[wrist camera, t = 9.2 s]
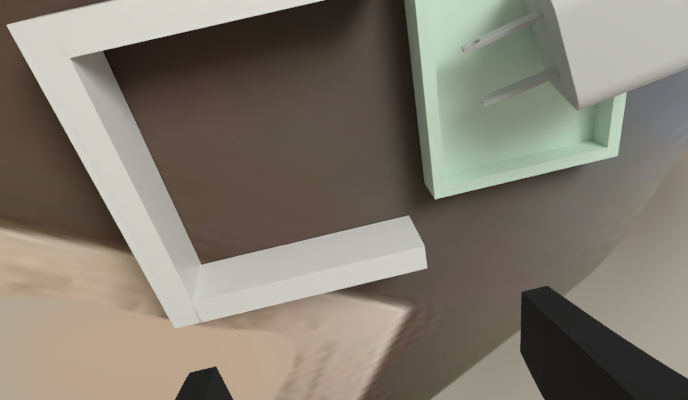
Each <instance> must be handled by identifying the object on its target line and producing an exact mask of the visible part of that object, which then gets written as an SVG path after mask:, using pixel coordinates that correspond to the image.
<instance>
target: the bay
mask: <svg viewBox="0 0 688 400" xmlns="http://www.w3.org/2000/svg"><path fill="white" fill-rule="evenodd" d="M319 1H323V0H109V1H105V2H100V3H96V4H91V5H87V6H83V7H78V8H74V9H69V10H65V11H60V12H56V13H51V14H47V15H43V16H39V17H35V18H31V19H27V20H24V21H20V22H16V23H12V24H8V25H7V27H8V29H9V31H10V32H11V34H12V36H13V38H14V40H15V41H16V43H17V45H18V47H19V49H20V50H21V52H22V54H23V56H24V58H25V59H26V61H27V63H28V65H29V67H30V68H31V70H32V72H33V74H34V76H35V77H36V79H37V81H38V83H39V85H40V87H41V88H42V90H43V92H44V94H45V96H46V97H47V99H48V101H49V103H50V105H51V106H52V108H53V110H54V112H55V114H56V115H57V117H58V119H59V121H60V123H61V124H62V126H63V128H64V130H65V132H66V133H67V135H68V137H69V139H70V141H71V142H72V144H73V146H74V148H75V150H76V151H77V153H78V155H79V157H80V159H81V160H82V162H83V164H84V166H85V168H86V169H87V171H88V173H89V175H90V177H91V179H92V180H93V182H94V184H95V186H96V188H97V189H98V191H99V193H100V195H101V197H102V198H103V200H104V202H105V204H106V206H107V207H108V209H109V211H110V213H111V215H112V216H113V218H114V220H115V222H116V224H117V225H118V227H119V229H120V231H121V233H122V234H123V236H124V238H125V240H126V242H127V243H128V245H129V247H130V249H131V251H132V252H133V254H134V256H135V258H136V260H137V261H138V263H139V265H140V267H141V269H142V271H143V272H144V274H145V276H146V278H147V280H148V281H149V283H150V285H151V287H152V289H153V290H154V292H155V294H156V296H157V298H158V299H159V301H160V303H161V305H162V307H163V308H164V310H165V312H166V314H167V316H168V317H169V319H170V321H171V323H172V325H173V326H174V328H175V329H177V328H181V327H185V326H190V325H194V324H198V323H202V322H206V321H210V320H214V319H219V318H223V317H227V316H231V315H235V314H239V313H244V312H248V311H252V310H256V309H260V308H264V307H268V306H273V305H277V304H281V303H285V302H289V301H293V300H297V299H302V298H306V297H310V296H314V295H318V294H322V293H326V292H331V291H335V290H339V289H343V288H347V287H351V286H356V285H360V284H364V283H368V282H372V281H376V280H380V279H385V278H389V277H393V276H397V275H401V274H405V273H409V272H414V271H418V270H422V269H426V268H427V262H426V254H425V246H424V244H423V242H422V240H421V238H420V236H419V234H418V232H417V230H416V228H415V226H414V224H413V222H412V220H411V219H410V217H409V215H408V216H404V217H400V218H396V219H392V220H387V221H383V222H379V223H375V224H371V225H366V226H362V227H358V228H354V229H350V230H345V231H341V232H337V233H333V234H329V235H324V236H320V237H316V238H312V239H308V240H303V241H299V242H295V243H291V244H287V245H282V246H278V247H274V248H270V249H266V250H261V251H257V252H253V253H249V254H245V255H240V256H236V257H232V258H228V259H224V260H219V261H215V262H211V263H207V264H203V265H201V263H200V261H199V259H198V256H197V254H196V252H195V250H194V248H193V246H192V243H191V241H190V239H189V237H188V235H187V233H186V230H185V228H184V226H183V224H182V222H181V220H180V217H179V215H178V213H177V211H176V209H175V207H174V204H173V202H172V200H171V198H170V196H169V194H168V191H167V189H166V187H165V185H164V183H163V181H162V178H161V176H160V174H159V172H158V170H157V168H156V165H155V163H154V161H153V159H152V157H151V155H150V152H149V150H148V148H147V146H146V144H145V141H144V139H143V137H142V135H141V133H140V131H139V128H138V126H137V124H136V122H135V120H134V118H133V115H132V113H131V111H130V109H129V107H128V105H127V102H126V100H125V98H124V96H123V94H122V92H121V89H120V87H119V85H118V83H117V81H116V79H115V76H114V74H113V72H112V70H111V68H110V66H109V63H108V61H107V59H106V57H105V55H104V53H103V50H107V49H112V48H116V47H121V46H125V45H129V44H134V43H138V42H143V41H147V40H151V39H156V38H160V37H165V36H169V35H173V34H178V33H182V32H187V31H191V30H195V29H200V28H204V27H209V26H213V25H217V24H222V23H226V22H231V21H235V20H239V19H244V18H248V17H253V16H257V15H261V14H266V13H270V12H275V11H279V10H283V9H288V8H292V7H297V6H301V5H305V4H310V3H314V2H319Z"/></svg>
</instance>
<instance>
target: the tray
mask: <svg viewBox="0 0 688 400" xmlns="http://www.w3.org/2000/svg"><path fill="white" fill-rule="evenodd" d="M404 5H405V14H406V23H407V32H408V41H409V50H410V58H411V67H412V76H413V85H414V94H415V103H416V112H417V121H418V130H419V139H420V148H421V157H422V166H423V175H424V183H425V185H426V186H427V188H428V189H429V191H430V193H431V194H432V196H433V197H434V199H439V198H443V197H447V196H451V195H455V194H460V193H464V192H468V191H472V190H476V189H481V188H485V187H489V186H493V185H497V184H502V183H506V182H510V181H514V180H518V179H523V178H527V177H531V176H535V175H539V174H544V173H548V172H552V171H556V170H560V169H565V168H569V167H573V166H577V165H581V164H586V163H590V162H594V161H598V160H602V159H607V158H611V157H615V156H618V150H619V143H620V136H621V129H622V122H623V115H624V107H625V100H626V93H627V92H626V93H623V94H620V95H618V96H615V97H613V98H610V99H607V100H605V101H602V102H600V103H597V104H594V105H592V106H589V107H587V108H584V109H581V110H579V111H576V110H575V109H574V108H573V107H572V106H571V105H570V104H569V103H568V102H567V101H566V100H565V99H564V98H563V97H562V96H561V94H560V93H559V92H558V91H557V90H556V89H555V88H554V87H553V86H552V85H551V84H550V82H549V81H548V82H546V83H543V84H541V85H538V86H536V87H533V88H531V89H529V90H526V91H524V92H521V93H519V94H517V95H514V96H512V97H509V98H507V99H504V100H501V101H499V102H496V103H494V104H491V105H488V106H485V107H484V106H483V105H482V103H481V101H480V98H481V97H484V96H486V95H488V94H490V93H492V92H495V91H497V90H499V89H501V88H503V87H506V86H508V85H510V84H513V83H515V82H518V81H520V80H522V79H525V78H527V77H529V76H532V75H534V74H537V73H539V72H541V71H544V68H543V66H542V62H541V59H540V55H539V52H538V48H537V45H536V41H535V38H534V34H533V31H532V27H531V25H529V26H526V27H524V28H522V29H520V30H518V31H516V32H513V33H511V34H509V35H507V36H505V37H502V38H500V39H498V40H496V41H494V42H492V43H489V44H487V45H485V46H482V47H480V48H478V49H476V50H473V51H471V52H469V53H466V54H464V53H463V51H462V49H461V47H462V46H463V45H465V44H467V43H469V42H471V41H473V40H475V39H477V38H479V37H481V36H483V35H485V34H487V33H489V32H491V31H493V30H496V29H498V28H500V27H502V26H504V25H506V24H508V23H511V22H513V21H515V20H517V19H519V18H521V17H523V16H526V15H528V13H527V10H526V6H525V3H524V0H404ZM496 97H497V96H496ZM493 98H495V97H492V98H490V99H489V100H491V99H493Z"/></svg>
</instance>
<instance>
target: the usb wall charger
mask: <svg viewBox="0 0 688 400" xmlns="http://www.w3.org/2000/svg"><path fill="white" fill-rule="evenodd" d="M524 3H525V6H526V10H527V13H528V15H526V16H523V17H521V18H519V19H517V20H515V21H513V22H511V23H508V24H506V25H504V26H502V27H500V28H498V29H496V30H493V31H491V32H489V33H487V34H485V35H483V36H481V37H479V38H477V39H475V40H473V41H471V42H469V43H467V44H465V45H463V46H462V47H461V49H462V51H463V53H464V54H466V53H469V52H471V51H473V50H476V49H478V48H480V47H482V46H485V45H487V44H489V43H492V42H494V41H496V40H498V39H500V38H502V37H505V36H507V35H509V34H511V33H513V32H516V31H518V30H520V29H522V28H524V27H526V26H529V25H531V27H532V31H533V34H534V38H535V41H536V45H537V48H538V52H539V55H540V59H541V62H542V66H543V68H544V71H541V72H539V73H537V74H534V75H532V76H529V77H527V78H525V79H522V80H520V81H518V82H515V83H513V84H510V85H508V86H506V87H503V88H501V89H499V90H497V91H495V92H492V93H490V94H488V95H486V96H484V97H481V98H480V101H481V103H482V105H483V106H484V107H485V106H488V105H491V104H494V103H496V102H499V101H501V100H504V99H507V98H509V97H512V96H514V95H517V94H519V93H521V92H524V91H526V90H529V89H531V88H533V87H536V86H538V85H541V84H543V83H546V82H548V81H549V82H550V84H551V85H552V86H553V87H554V88H555V89H556V90H557V91H558V92H559V93H560V94H561V96H562V97H563V98H564V99H565V100H566V101H567V102H568V103H569V104H570V105H571V106H572V107H573V108H574V109H575V110H576V111H579V110H581V109H584V108H587V107H589V106H592V105H594V104H597V103H600V102H602V101H605V100H607V99H610V98H613V97H615V96H618V95H620V94H623V93H626V92H628V91H631V90H634V89H636V88H639V87H641V86H644V85H647V84H649V83H652V82H654V81H657V80H660V79H662V78H665V77H667V76H670V75H673V74H675V73H678V72H681V71H683V70H686V69H688V0H524ZM496 96H497V97H496ZM492 97H495V98H493V99H491V100H489V99H490V98H492Z"/></svg>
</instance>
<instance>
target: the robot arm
mask: <svg viewBox="0 0 688 400" xmlns="http://www.w3.org/2000/svg"><path fill="white" fill-rule="evenodd" d="M520 352H521V354H522V356H523V358H524V360H525V362H526V364H527V367H528V368H529V371H530V373H531V375H532V377H533V379H534V381H535V383H536V385H537V387H538V389H539V390H540V392H541V394H542V396H543V398H544V399H545V400H688V379H687V378H686V377H684V376H682V375H681V374H679V373H677V372H676V371H674V370H672V369H671V368H669V367H667V366H666V365H664V364H663V363H661V362H660V361H658V360H656V359H655V358H653V357H652V356H650V355H648V354H647V353H645V352H644V351H642V350H641V349H639V348H637V347H636V346H635V345H633V344H632V343H630V342H628V341H627V340H625V339H624V338H622V337H621V336H619V335H618V334H616V333H615V332H613V331H612V330H610V329H609V328H607V327H606V326H604V325H603V324H602V323H600V322H599V321H597V320H596V319H594V318H593V317H591V316H590V315H588V314H587V313H586V312H584V311H583V310H581V309H580V308H578V307H577V306H576V305H574V304H573V303H571V302H570V301H568V300H567V299H566V298H564V297H563V296H561V295H560V294H558V293H557V292H556V291H554V290H553V289H551V288H550V287H548V286H545V287H541V288H537V289H532V290H528V291H524V292H522V298H521V345H520ZM175 400H233V398H232V396H231V394H230V393H229V391H228V389H227V387H226V385H225V383H224V381H223V379H222V377H221V375H220V374H219V371H218V370H217V367H212V368H208V369H204V370H199V371H195V372H191V373H189V375H188V377H187V378H186V380H185V382H184V384H183V385H182V387H181V389H180V391H179V393H178V395H177V397H176V399H175Z"/></svg>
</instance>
